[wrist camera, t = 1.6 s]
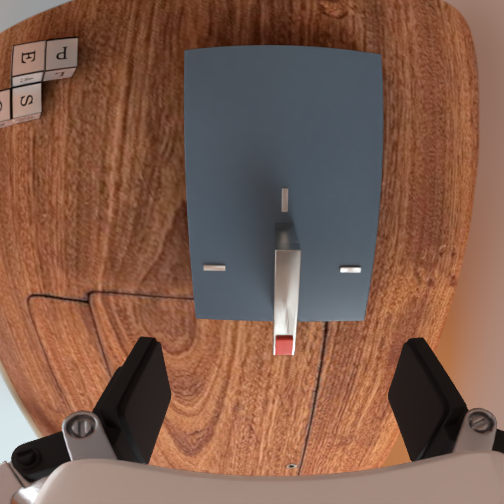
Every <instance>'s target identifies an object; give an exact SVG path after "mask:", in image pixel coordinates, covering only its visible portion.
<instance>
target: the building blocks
mask: <svg viewBox="0 0 504 504" xmlns="http://www.w3.org/2000/svg"><path fill="white" fill-rule="evenodd" d="M78 38H79V36H77V37H66V38H57V39H48V40H41V41H35V42H28V43H23V44H17V45H13V46H12V58H11V76H10V78H11V88H7V89H3V90H0V128H3V127H6V126H10V125H14V124H19V123H23V122H27V121H32V120H36V119H40V118H41V114H42V88H41V83H42V81H48V80H54V79H61V78H68V77H72V76H73V74H74V72H75V71H76V69H77V67H78Z"/></svg>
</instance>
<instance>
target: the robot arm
mask: <svg viewBox="0 0 504 504" xmlns="http://www.w3.org/2000/svg"><path fill="white" fill-rule="evenodd" d="M388 399H389V402H390V405H391V408H392V410H393V413H394V415H395V418H396V421H397V423H398V426H399V429H400V432H401V434H402V437H403V440H404V443H405V446H406V448H407V451H408V454H409V457H410V460H411V461H412V462H409V463H404V464H399V465H393V466H388V467H382V468H376V469H369V470H362V471H354V472H345V473H335V474H323V475H306V476H243V475H226V474H214V473H203V472H195V471H187V470H179V469H171V468H165V467H158V466H153V465H147V464H148V463H149V461H150V458H151V455H152V452H153V449H154V446H155V443H156V440H157V437H158V434H159V431H160V429H161V426H162V423H163V420H164V417H165V414H166V411H167V408H168V406H169V403H170V400H171V390H170V385H169V381H168V376H167V372H166V367H165V362H164V357H163V352H162V347H161V343H160V342H157V341H156V339H155V338H152V337H140V338H139V339H138V341H137V343H136V344H135V346H134V348H133V349H132V351H131V353H130V354H129V356H128V358H127V359H126V361H125V363H124V364H123V366H122V367H119V368H118V369H117V370H116V372H115V373H114V375H113V377H112V379H111V380H110V382H109V384H108V385H107V387H106V389H105V390H104V392H103V394H102V395H101V397H100V399H99V401H98V402H97V404H96V406H95V408H94V409H93V411H92V412H89V411H77V412H74V413H72V414H70V415H69V416H67V417H66V419H65V420H64V421H63V424H62V431H61V432H58V433H55V434H52V435H49V436H46V437H43V438H40V439H37V440H34V441H31V442H27V443H25V444H22V445H20V446H18V447H17V448H16V449H15V450H14V452H13V453H12V457H11V462H9V463H7V462H6V461H4V462H2V463H1V464H0V504H504V431H501V430H499V429H497V421H496V418H495V417H494V415H493V414H492V413H491V412H489V411H488V410H485V409H481V408H474V409H471V410H468V409H467V407H466V406H467V405H466V403H465V402H464V400H463V399H462V397H461V395H460V394H459V392H458V390H457V389H456V387H455V385H454V384H453V382H452V381H451V379H450V377H449V376H448V374H447V373H446V371H445V370H444V368H443V366H442V365H441V363H440V362H439V361H438V359H437V357H436V356H435V354H434V353H433V351H432V350H431V348H430V347H429V345H428V344H427V342H426V341H425V339H424V338H422V337H421V338H410V339H409V340H408V341H407V342H406V343H404V345H403V348H402V351H401V355H400V358H399V361H398V365H397V368H396V371H395V374H394V377H393V380H392V383H391V386H390V389H389V392H388Z"/></svg>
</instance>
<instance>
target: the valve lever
mask: <svg viewBox="0 0 504 504" xmlns="http://www.w3.org/2000/svg"><path fill="white" fill-rule="evenodd" d="M300 270H301V247H300V244H299V240H298V236H297V232H296V228H295V225H294V223H275V228H274V282H273V348H272V354H273V355H294V354H295V343H296V330H297V317H298V303H299V287H300Z"/></svg>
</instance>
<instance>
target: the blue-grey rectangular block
mask: <svg viewBox="0 0 504 504" xmlns="http://www.w3.org/2000/svg"><path fill="white" fill-rule="evenodd" d="M184 142H185V174H186V197H187V215H188V231H189V246H190V259H191V271H192V283H193V294H194V304H195V314H196V318H197V319H217V320H244V321H273V282H274V228H275V223H294V225H295V228H296V232H297V236H298V240H299V244H300V247H301V270H300V287H299V303H298V317H297V321H363V320H364V318H365V313H366V307H367V302H368V296H369V289H370V283H371V276H372V269H373V262H374V254H375V246H376V237H377V228H378V218H379V206H380V193H381V178H382V156H383V82H382V62H381V55H380V54H375V53H369V52H362V51H354V50H346V49H337V48H326V47H313V46H293V45H243V46H223V47H209V48H198V49H189V50H185V53H184Z"/></svg>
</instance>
